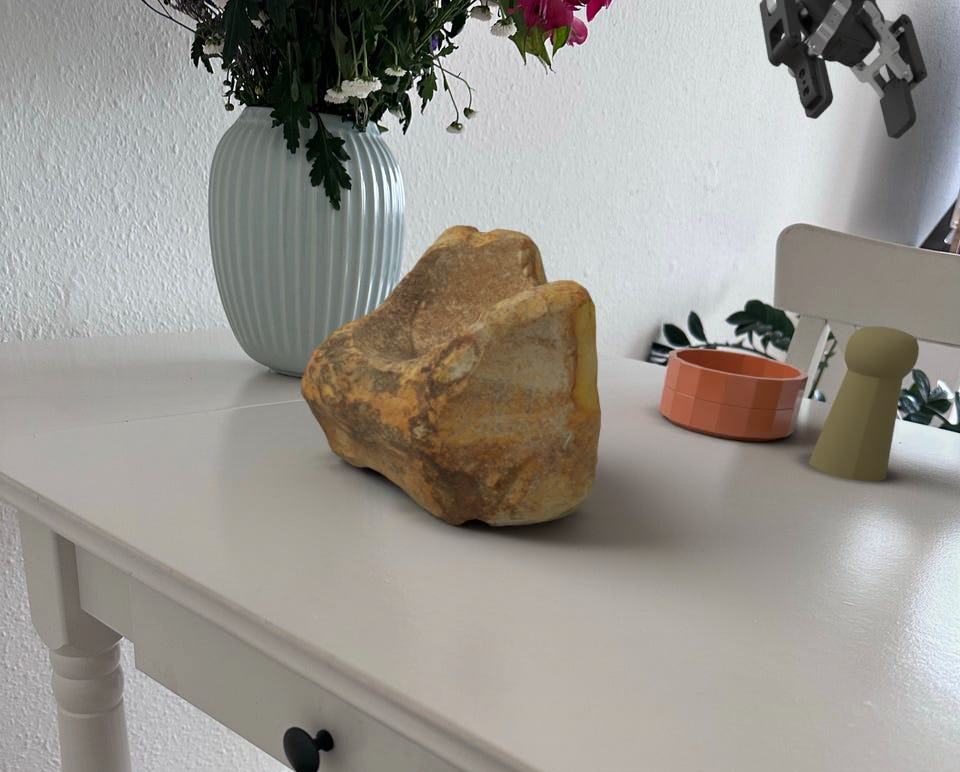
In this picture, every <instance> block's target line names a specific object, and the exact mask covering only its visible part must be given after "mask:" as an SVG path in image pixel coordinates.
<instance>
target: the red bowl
mask: <svg viewBox="0 0 960 772" xmlns="http://www.w3.org/2000/svg"><path fill="white" fill-rule="evenodd" d="M808 379H809V375H808V373H807V372H806V371H805V370H804V369H801V368H799V367H797V366H795V365H793V364H790V363H787V362H782V361H780V360H776V359H772V358H768V357H764V356H758V355H754V354H749V353H744V352H736V351H730V350H724V349H723V350H722V349H713V348H712V349H711V348H700V347H699V348H698V347H697V348H693V347H691V348H677V349H673V350H670V351H669V352H668V358H667V362H666V368H665V373H664V377H663V383H662V387H661V392H660V396H659V402H658V412H659V413H660V414H661V415H663V416H665V417H666V418H667V419H668V420H669V421H670V422H672V423H673V424H675V425H677V426H679V427H681V428H684V429H686V430H689V431H693V432H697V433H700V434H704V435H708V436H712V437H717V438H724V439H729V440H737V441H745V442H747V441H749V442H768V441H769V442H770V441H774V440H777V439H780V438H786V437H788V436H790V435H791V434H793V433H795V432H794V431H795V428H796V426H797V425H796V424H797V421H798V417H799V413H800V410H801V405H802V402H803V399H804V394H805V391H806V387H807V383H808Z"/></svg>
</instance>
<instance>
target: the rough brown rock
mask: <svg viewBox="0 0 960 772" xmlns="http://www.w3.org/2000/svg"><path fill="white" fill-rule="evenodd" d="M596 313H597V312H596V305H595V302H594V300H593V299H592V296H591V294H590V292H589V290H588V289H587V288H586V287H585V286H583V285H581V284H580V283H578V282H577V281H574V280H573V279H572V280H571V279H569V280H568V279H558V280H555V281H549V282H548V278H547V274H546V271H545V267H544V263H543V259H542V254H541V250H540V248H539V246H538V245H537V244H536V243H535V241H533V239H532V238H531V237H530V236H529V235H527V234H525V233H523V232H521V231H518V230H511V229H505V228H495V229H492V230H490V231H486V232H485V231H480V230H478V228H477V227H475V226H473V225H463V224H459V225H458V224H457V225H454V226H453V225H452V226H451V227H449V228H446V229H445V230H444V231H443V232H442V233H441V234H440V235H438V236H437V238H436V239H435V241H434V242H433V243H432V244H431V245H430V246H428V248H427V249H426V250H425V251H424V252H423V254H422V255H421V256H420V258H419V259H418V260H417V262H416V263H415V265H414V266H413V268H412V269H411V271H408V272H407V273H406V274H405V275H404V276H403V277H402V279H401V280H400V281H399V282H398V283H397V285H396V286H395V287H394V288H393V289H392V291H391V292H390V293H389V295H388V296H387V297H386V298H385V299H384V300H383V301H382V302H381V303H380V304H379V305H378V306H377V307H376V308H375V310H373V311H370V312H369V313H366V314H365V315H363V316H361V317H359V318H357V319H355V320H352V321H349V322H346V323H344V324H343V325H342V326H340V327H338V328H337V329H335V330H334V331H333V332H331V333H330V334H329V335H328V336H327V338H325V339H324V340H323V341H322V342H321V343H320V344H319V345H318V346H317V347H316V348H315V349H314V351H313V352H312V354H311V357H310V359H309V362H308V364H307V366H306V368H305V371H304V373H303V375H302V378H301V379H300V380H301V382H300V395H301V396H302V398H303V399H304V401H305V402H306V404H307V405H308V407H309V409H310V412H311V414H312V415H313V417H314V419H315V420H316V421H317V423H318V425H319V426H320V428H321V429H322V431H323V433H324V436H325V437H326V441H327V443H328V446H329V448H330V450H331V452H332V453H333V454H335V455H336V456H338V457H339V458H340V459H342V460H343V461H345V462H346V463H348V464H349V465H351V466H353V467H357V468H369V469H372V470H374V471H375V472H377V473H380V474H382V475H383V476H384V477H386V478H387V479H388V480H390V481H391V482H392V483H394V484H395V485H397V486H398V487H400V489H402V490H403V491H404V492H405V493H406V494H407V495H408V496H409V497H410V498H411V499H412V500H413V501H414V502H416V503H417V504H418V505H419V506H421V507H422V508H423V509H424V510H426V511H427V512H429V513H430V514H432V515H433V516H435V517H437V518H439V519H440V520H443V521H445V522H446V523H448V524H450V525H452V526H461V525H462V524H464V523H465V522H467V521H470V520H479V521H481V522H483V523H486V524H488V525H489V526H490V527H506V526H529V525H535V524H539V523H544V522H545V523H546V522H551V521H554V520H558V519H560V518H564V517H566V516H569V515H571V514H572V513H574V512H576V511H577V510H578V509H580V508H581V507H582V506H583V505H584V504H585V503H586V502H587V501H588V497H590V495H591V494H592V492H593V487H594V483H595V479H596V473H597V472H596V470H597V464H598V448H599V443H600V435H601V427H602V409H601V402H600V395H599V389H598V375H599V373H598V372H599V369H598V368H599V360H598V359H599V358H598V349H597V316H596V315H597V314H596Z"/></svg>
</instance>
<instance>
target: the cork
mask: <svg viewBox="0 0 960 772" xmlns="http://www.w3.org/2000/svg"><path fill="white" fill-rule="evenodd" d="M919 353H920V348H919V342H918V339H917V338H916V337H915V336H914V335H912V334H911V333H908V332H906V331H904V330H900V329H898V328H893V327H888V326H881V325H880V326H864V327H859V328H858V329H855V331H854V332H853V333H852V334H851V335H850V337H849V339H848V341H847V343H846V345H845V350H844V362H845V365H846V368H847V369H846V373H845V375H844V377H843V380H842V381H841V385H840V387H839V389H838V391H837V394H836V396H835V398H834V401H833V403H832V406H831V408H830V410H829V413H828V415H827V417H826V420H825V422H824V424H823V427H822V429H821V431H820V434H819V436H818V439H817V440H816V444H815V446H814V448H813V451H812V453H811V454H810V455H811V456H810V458H809V460H808V464H809V465H810V466H811V467H813V468H815V469H816V470H817V471H821V472H823V473H825V474H828V475H831V476H835V477H839V478H843V479H849V480H854V481H861V482H863V481H864V482H878V481H879V482H881V481H883V480H886V478H887V473H888V467H889V461H890V454H891V449H892V444H893V438H894V434H895V433H894V432H895V426H896V421H897V414H898V409H899V404H900V397H901V392H902V386H903V380H904V379H905V377H907V376H908V375H909V374H910V373H911V372H912V371H913V369H914V367H915V366H916V364H917V362H918V358H919Z"/></svg>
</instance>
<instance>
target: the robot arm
mask: <svg viewBox="0 0 960 772" xmlns="http://www.w3.org/2000/svg"><path fill="white" fill-rule="evenodd" d="M758 6H759V11H760V18H761V24H762V29H763V30H762V31H763V36H764V42H765V47H766V49H765V50H766V53H767V59H768V62H769V63H770V64H771V65H772V66H774V67H775V68H776V67H777V68H778V67H781V65H782V64H783V65H784V66H786V67H787V72H788V74H789V75H790V77H792V78H793V79H795V84H796V87H797V93H798V97H799V101H800V104H801V106H802V107H803V109H804V114H805V117H806V118H808V119H809V118H810V119H813V120H816V119H818V118H819V117H820V116H822V114H823V113H824V112H825V111H826V110H827V109H828V108H829V107H830V106H831V105H832V104H833V101H834V93H833V90H832V85H831V81H830V77H829V72H828V68H827V64H826V62H829V63H835V62H837V63H839V64H841V65H842V66H843V67H844V66H845V67H848V68H849V70H850V71H851V72H852V73H853V75H854V76H855V77H856V79H857V80H858V81H859V82H860V83H861V84H865V83H868V84H869V85H870V86H871V88H872V89H873V90H874V92H875V93H876V94H877V95H878V97H879V98H880V99H879V105H880V108H881V112H882V117H883V121H884V125H885V130H886V133H887V136H888V138H891V139H896V140H897V139H900V138H902V136H903V135H905V134H906V133H907V132H909V130H910V129H912V127H913V126H914V125H915V123H916V121H917V112H916V108H915V105H914V100H913V95H912V91H913V90H914V89H915V88H916V87H917V86H918V85H919V84H921V83H922V82H923V81H924V80H925V79H926V78H927V77H928V71H927V67H926V64H925V61H924V57H923V54H922V51H921V47H920V43H919V42H918V38H917V34H916V31H915V28H914V25H913V21H912V19H911V17H910V16H909V15H907V14H906V13H902V14H901V15H900V16H899V17H898V18H897V19H896V20H894V21H892V20H889V19H885V16H884V14H883V12H882V11H881V9H880V7H879V5H878V3H877V0H761V1H760V2H759V5H758ZM802 35H803V36H802ZM877 43H878V45H879V48H878V49H877V53H878V54H879V55H878V56H877V57H876V58H875V59H874V60H873V61H872V62H871V63H870V64H866V63H865V61H864V60H865V59H866V58H867V57H868V56H869V55H870V54H871V53H872V51H874V49H875V47H876V45H877ZM820 56H821V57H820ZM884 66H885V69H886V73H887V76H888V78H889V79H888V80H886V79H885V78H884V77H883V75H882V74H881V72H880V71H881V69H882V68H883V67H884Z"/></svg>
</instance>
